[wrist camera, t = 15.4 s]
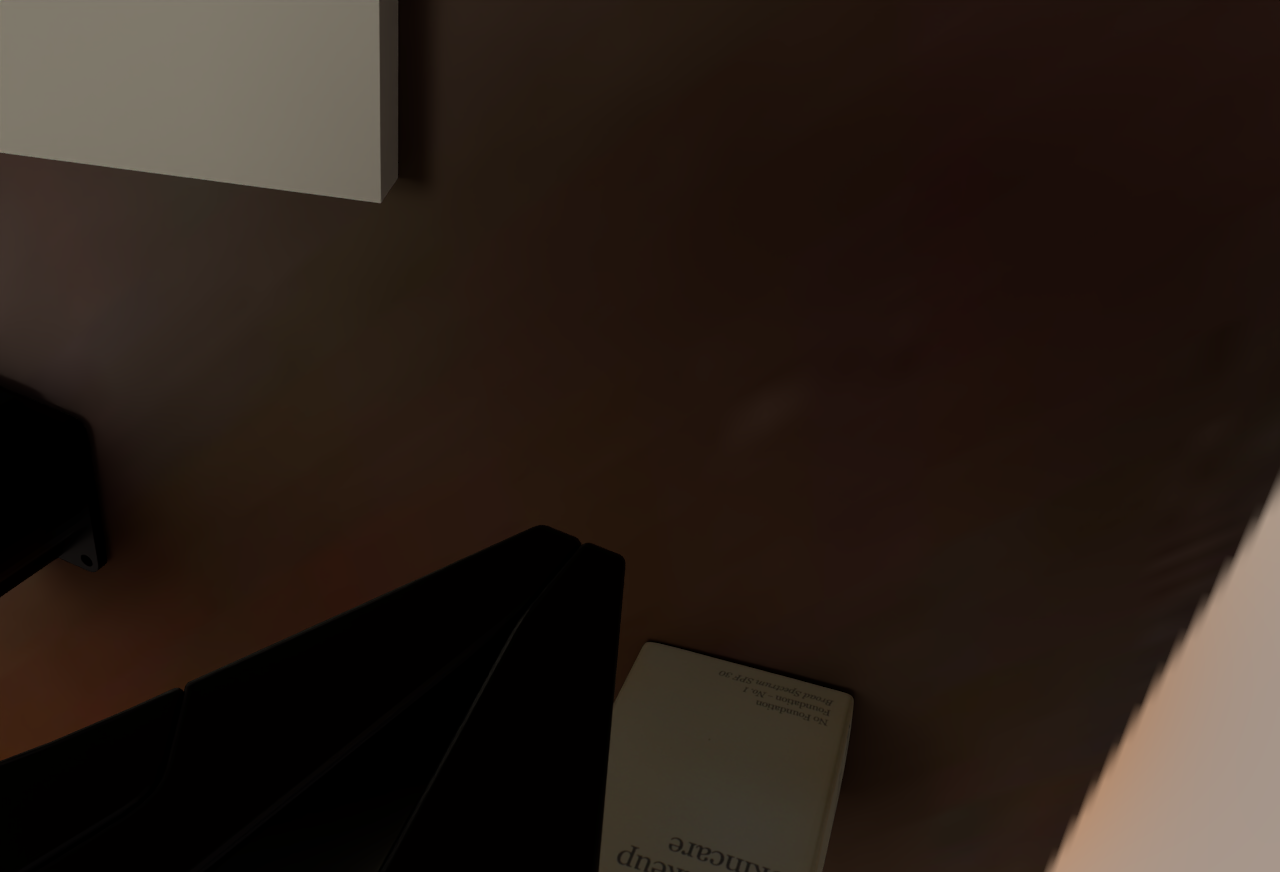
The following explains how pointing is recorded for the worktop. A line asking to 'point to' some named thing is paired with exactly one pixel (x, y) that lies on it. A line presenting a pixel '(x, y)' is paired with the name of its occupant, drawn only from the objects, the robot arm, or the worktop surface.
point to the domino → (208, 89)
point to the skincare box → (721, 768)
